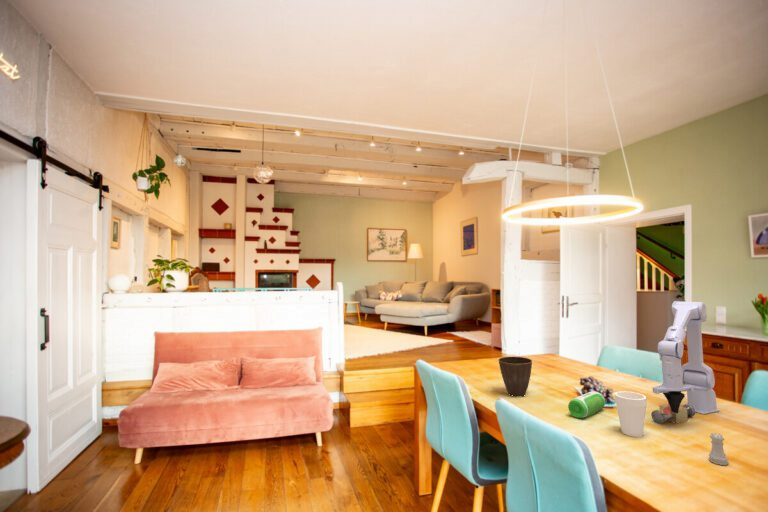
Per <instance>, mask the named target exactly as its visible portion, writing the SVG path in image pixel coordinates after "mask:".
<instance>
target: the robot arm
mask: <svg viewBox="0 0 768 512" xmlns="http://www.w3.org/2000/svg"><path fill="white" fill-rule="evenodd" d="M671 313H672V315H673V317H674V318H673V323H672V325H670V326H669V327H668V328H667V330H666V333H665V335H664V338H663V339H662V340H661V341H659V342H658V343H657V353H658V356H659V360H660V362H661V372H662V373H661V374H662V383H661V384H660V385H658V386H657V385H656V386H652V394H653V393H654V394H656V395H659V394H663V395H664V398H666V400H667V402H669V405H670V407H671V410H672V412H674V413H678V411H679V407H680V406H681V404H682V401H683V400H684V398H685V393H683V392H686V398H687V399H686V400H687V404H688V405H691V406H692V407H693V408H694V410H695V413H698V414H701V415H706V414H711V413H716V412H720V409H719V408H717V395H716V392H715V390H714V389H713V388H714V386H715V385H716V384H715V383H716V381H715V380H716V379H715V375H714V370H713V369H712V368H711V366H709V365H707V364H705V363H704V351H703V335H702V324H703V323H705V322H707V319H708V318H707V317H708V316H707V306H706V304H705V303H704V302H703V301H682V300H681V301H678V300H674V301H673V302H672V303H671ZM685 329H686V330H685ZM685 340H686V343H687V345H686V346H687V360H688V362H685V363H684V364H683V365H682V357H683V355H684V342H685Z"/></svg>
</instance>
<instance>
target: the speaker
mask: <svg viewBox="0 0 768 512" xmlns="http://www.w3.org/2000/svg"><path fill="white" fill-rule="evenodd" d="M605 405H606V399H605V396H604V395H603V394H602V393H601V392H599V391H594V390H593V391H589V392H586V393H584V394H581V395H579V396H576V397H574V398H572V399H571V400H570V401H569V403H568V405H567V407H568V408H567V409H568V411H569V413H570V415H572V416H573V417H575V418H578V419H579V418H580V419H581V418H588V417H590V416H592V415H594V414H596V413H598V412H599V411H601V410H602V409H603V408H604V407H605Z"/></svg>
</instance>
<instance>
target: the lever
mask: <svg viewBox="0 0 768 512" xmlns="http://www.w3.org/2000/svg"><path fill="white" fill-rule="evenodd" d="M667 402H668V401H667ZM667 404H668V406H667V407H666V408H664V409H663V413H665V414H671V412H672V410H671V407H670V405H669V402H668V403H667Z"/></svg>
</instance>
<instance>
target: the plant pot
mask: <svg viewBox="0 0 768 512" xmlns="http://www.w3.org/2000/svg"><path fill="white" fill-rule="evenodd" d="M498 364H499V369H500V374H501V377H502V380H503V384H504V386H505V388H506V389H505V390H506V391H507V394H508V395H509V394H510V395H509V396H511V395H513V396H512V397H514V396H522V397H525V396H526V393H527V390H528V388H529V384H530V380H531V375H532V365H533V361H532V359H530V358H528V357H523V356H505V357H499V358H498ZM524 395H525V396H524Z"/></svg>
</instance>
